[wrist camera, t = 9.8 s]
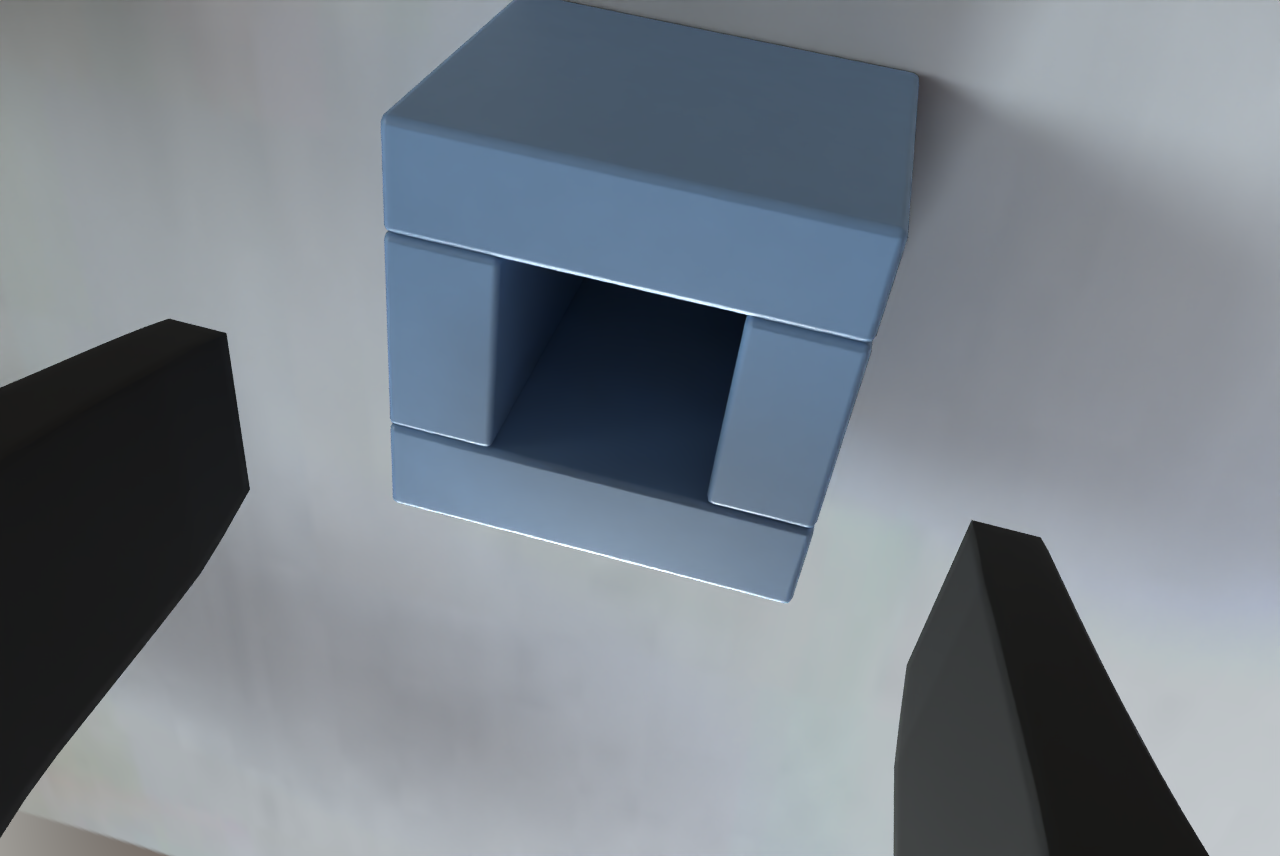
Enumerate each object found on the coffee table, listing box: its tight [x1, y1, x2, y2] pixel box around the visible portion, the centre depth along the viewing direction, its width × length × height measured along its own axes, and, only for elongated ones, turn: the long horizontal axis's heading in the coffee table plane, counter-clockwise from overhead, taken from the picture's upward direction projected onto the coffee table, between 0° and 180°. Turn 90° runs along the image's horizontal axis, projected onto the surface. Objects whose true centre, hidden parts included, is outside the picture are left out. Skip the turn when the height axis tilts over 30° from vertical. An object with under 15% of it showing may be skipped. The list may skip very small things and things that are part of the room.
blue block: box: [381, 0, 919, 603], centre depth 13 cm, size 5×5×4 cm
